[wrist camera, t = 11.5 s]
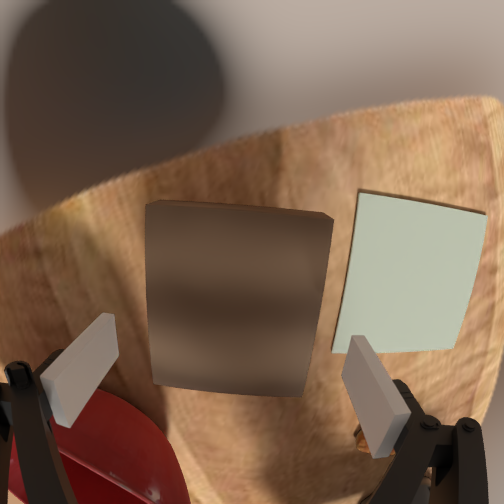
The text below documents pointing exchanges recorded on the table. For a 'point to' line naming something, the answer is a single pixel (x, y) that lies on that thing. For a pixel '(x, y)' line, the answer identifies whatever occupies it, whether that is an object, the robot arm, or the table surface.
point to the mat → (408, 274)
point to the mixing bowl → (113, 457)
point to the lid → (234, 295)
